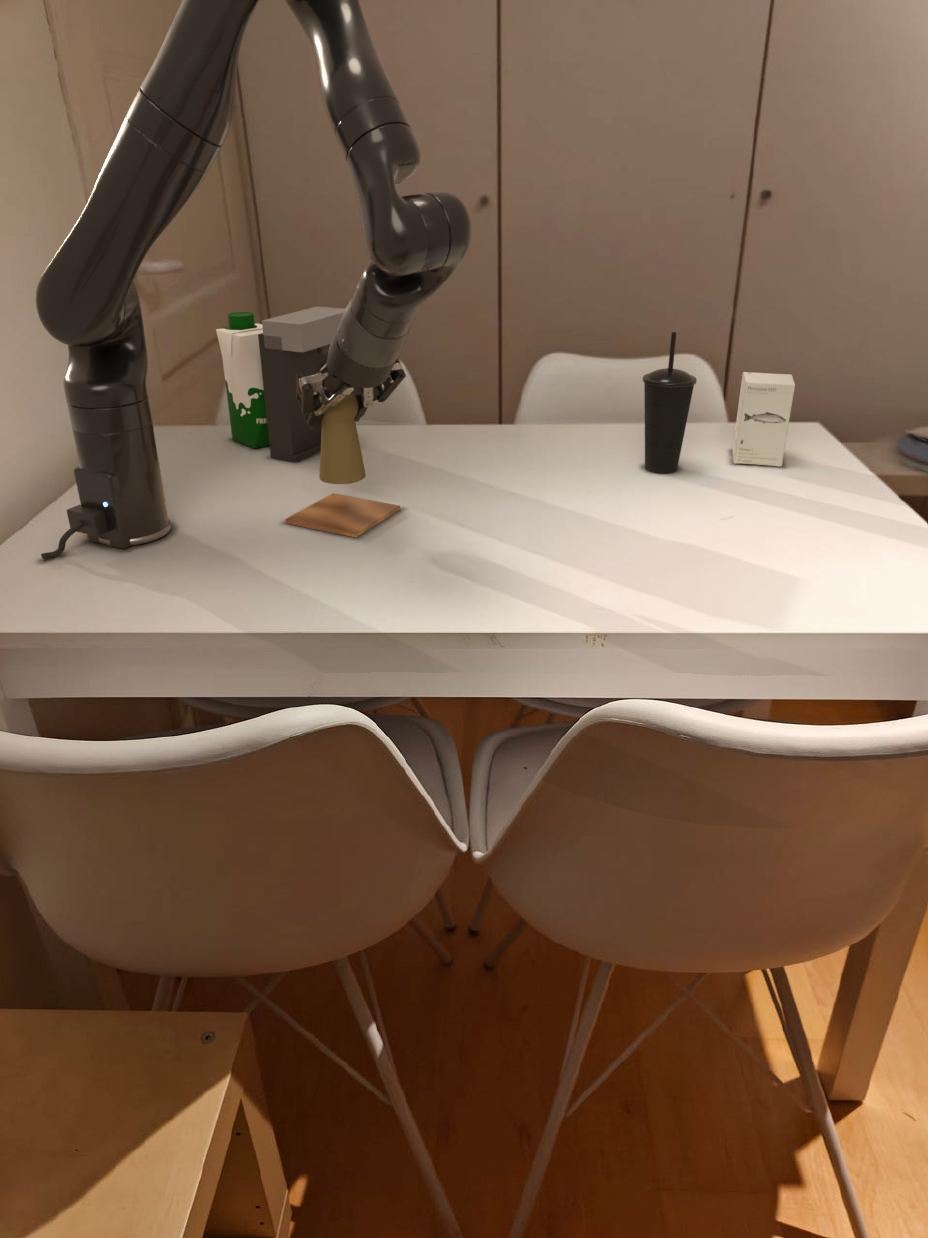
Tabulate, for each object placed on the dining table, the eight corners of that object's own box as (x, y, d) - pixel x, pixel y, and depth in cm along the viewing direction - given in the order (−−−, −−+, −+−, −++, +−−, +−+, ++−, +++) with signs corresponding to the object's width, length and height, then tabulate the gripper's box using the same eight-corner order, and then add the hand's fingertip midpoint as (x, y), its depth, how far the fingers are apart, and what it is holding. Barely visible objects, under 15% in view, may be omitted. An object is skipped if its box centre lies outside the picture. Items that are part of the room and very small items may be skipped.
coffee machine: (312, 464, 143) (300, 324, 133) (270, 457, 146) (256, 319, 136) (361, 440, 154) (354, 309, 144) (322, 434, 157) (311, 305, 147)
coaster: (356, 537, 117) (355, 533, 117) (285, 523, 121) (285, 519, 121) (400, 509, 126) (400, 505, 125) (333, 497, 130) (332, 493, 130)
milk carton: (269, 429, 160) (257, 308, 151) (298, 440, 154) (287, 315, 145) (224, 439, 155) (208, 315, 146) (252, 451, 149) (237, 322, 140)
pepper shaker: (358, 485, 118) (352, 398, 113) (312, 482, 119) (305, 397, 114) (371, 470, 123) (366, 387, 118) (328, 468, 124) (321, 385, 119)
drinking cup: (628, 471, 139) (639, 334, 130) (644, 457, 145) (656, 325, 136) (678, 479, 136) (693, 339, 126) (692, 464, 142) (707, 330, 132)
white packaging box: (732, 464, 142) (743, 381, 136) (731, 450, 148) (742, 370, 142) (782, 467, 140) (796, 384, 134) (780, 453, 147) (792, 372, 141)
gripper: (412, 304, 109) (370, 387, 123) (299, 316, 102) (269, 403, 116) (437, 357, 107) (392, 435, 122) (324, 374, 100) (290, 454, 115)
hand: (332, 419), depth 119 cm, fingers closed on pepper shaker, 5 cm apart
